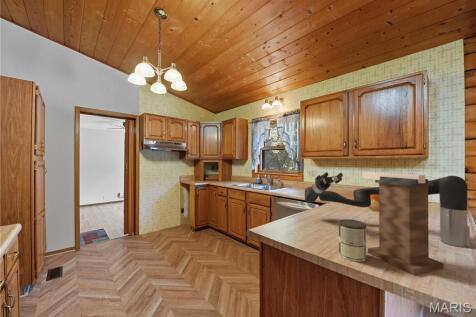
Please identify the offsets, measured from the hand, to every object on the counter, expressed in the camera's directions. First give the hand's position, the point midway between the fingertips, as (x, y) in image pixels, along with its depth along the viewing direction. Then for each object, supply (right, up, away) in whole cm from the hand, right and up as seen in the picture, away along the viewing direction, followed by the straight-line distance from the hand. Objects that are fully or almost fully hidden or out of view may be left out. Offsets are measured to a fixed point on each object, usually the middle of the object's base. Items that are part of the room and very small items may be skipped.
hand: (334, 173), depth 113 cm
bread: (+65, -35, +61) cm, 96 cm away
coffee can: (-5, -33, -27) cm, 43 cm away
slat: (+12, -1, -25) cm, 28 cm away
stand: (+13, -33, -30) cm, 47 cm away
